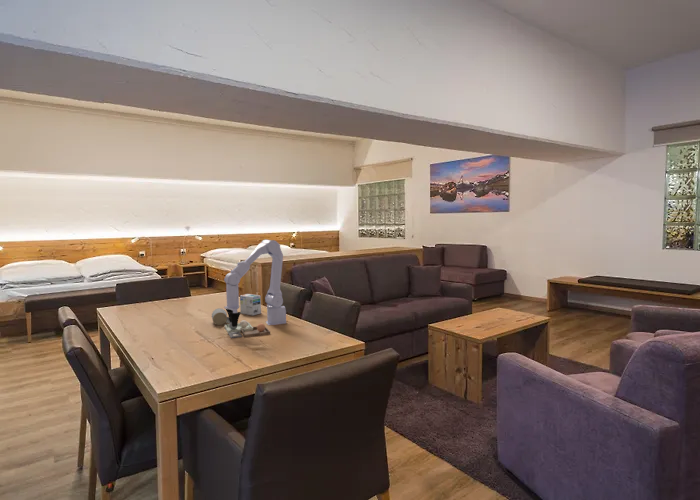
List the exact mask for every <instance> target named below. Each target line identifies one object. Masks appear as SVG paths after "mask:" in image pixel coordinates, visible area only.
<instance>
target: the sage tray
mask: <svg viewBox="0 0 700 500" xmlns="http://www.w3.org/2000/svg"><path fill="white" fill-rule="evenodd" d="M247 322H248V321H247ZM229 324H230V323H227V324H224V329H225V331H226V332H227V334H228V333H231V332H240V333H241V329H240V328H241V327H240V322H239V323H238V324H237V325H238V326H237V328H236V329H230V327H229ZM247 327H252V328H247ZM247 327H246V329H242V330H243V331H252V330H253V327H254V326H252V325H251V323H250V322H248V326H247Z"/></svg>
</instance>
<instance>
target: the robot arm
mask: <svg viewBox="0 0 700 500" xmlns="http://www.w3.org/2000/svg"><path fill="white" fill-rule="evenodd" d="M266 254H268V255H269V256H270V257H271V260H272V261H271V270H270V271H271V272H270V281H269V288H268V290H267V293H266V295H265V297H264V300H265V303H266V304H267V305H266V311H267V312H266V314H267V315H266V317H267V320H266V321H265V324H267V326H275V325H284V324H287V311H286V310H287V309H286V306H285V305H283V303H284V299H283V292H282V290H281V283H282V282H281V281H282V274H283V273H282V272H283V271H282V270H283V262H284V261H283V260H284V255H283V252H282V249H281V245H280V243H279V242H278V241H277V240H274V239H273V240H271V239H266V238H265V239H263V240H262V241H261V242H260V243H258V244H257V246H256V248H255V249H254V250H253V251H252V252H251V253H250V254H249V255H248V257H247V258H246V259H245V260H242V261H241V260H240V261H238V262H237V263H236V266H235V267H234V268H233V269H231V270H230V272H228V273H227V274H226V275H225V276H224V278H223V281H224V283H225V284H226V285H225V286H226V293H225V294H226V306H224V307H223V308H224V310H225V311H226V313H227V317H229V321H230V322H231V323H232V326H233V327H235V326H237V324H238V322H239V318H240V315H242V313H241V312H240V311H238V309H240V295H239V283H240V282H241V279H242V277H244V276H245V274H247V272H248V271H249V270H250V268H251V265H252V264H253V263H254V262H255V261H256V260H257V259H258V258H259V257H261V256H262V255H266Z"/></svg>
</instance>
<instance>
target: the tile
mask: <svg viewBox="0 0 700 500" xmlns="http://www.w3.org/2000/svg"><path fill="white" fill-rule="evenodd" d="M227 334H228V336H229V337H230V339H237V338H243V334H242V333H241V332H231V333H228V332H227Z"/></svg>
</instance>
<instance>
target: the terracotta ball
mask: <svg viewBox="0 0 700 500" xmlns="http://www.w3.org/2000/svg"><path fill="white" fill-rule="evenodd" d="M265 327H266V325H265V324H264V323H258V324H257V330H258V331H259V332H263V331H264V330H265Z"/></svg>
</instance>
